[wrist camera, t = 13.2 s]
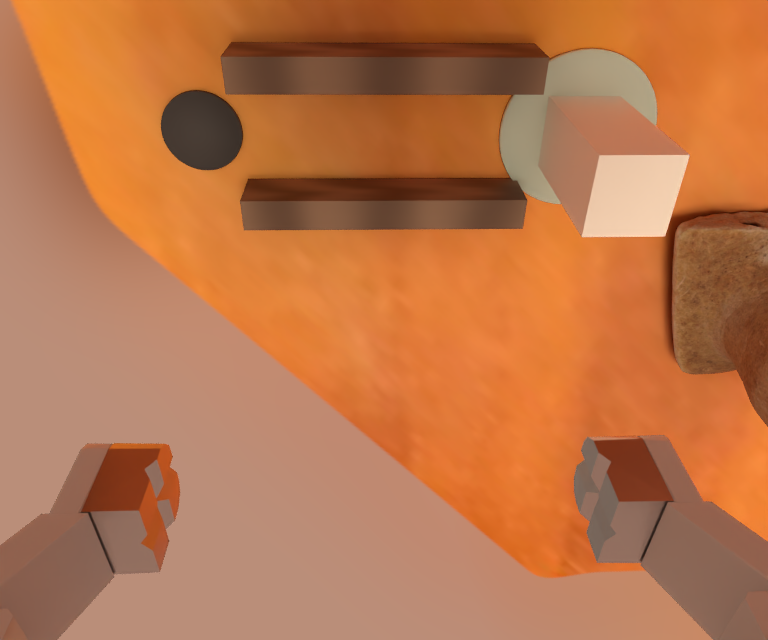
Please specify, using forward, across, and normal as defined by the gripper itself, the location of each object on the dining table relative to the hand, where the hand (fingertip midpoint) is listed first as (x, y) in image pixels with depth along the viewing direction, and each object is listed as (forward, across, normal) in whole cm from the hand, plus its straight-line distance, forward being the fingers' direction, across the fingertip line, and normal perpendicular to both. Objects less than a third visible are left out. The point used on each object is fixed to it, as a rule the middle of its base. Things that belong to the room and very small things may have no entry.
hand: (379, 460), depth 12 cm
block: (+31, -14, +4) cm, 34 cm away
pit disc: (+31, +10, +4) cm, 33 cm away
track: (+31, -1, +4) cm, 31 cm away
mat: (+31, -14, +4) cm, 34 cm away
